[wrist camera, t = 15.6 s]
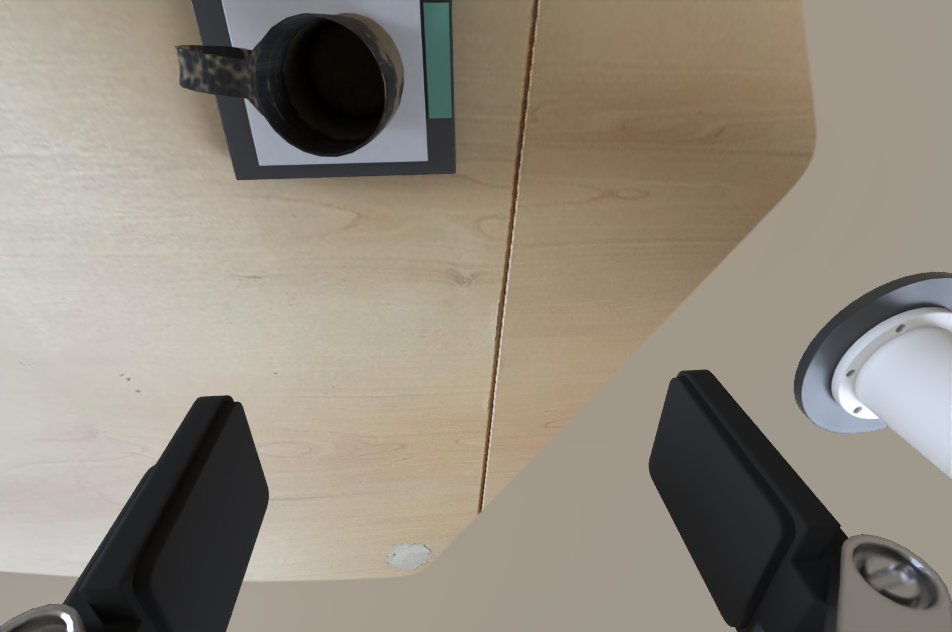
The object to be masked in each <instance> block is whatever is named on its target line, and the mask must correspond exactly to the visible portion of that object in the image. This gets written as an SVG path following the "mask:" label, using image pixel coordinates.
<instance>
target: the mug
mask: <svg viewBox="0 0 952 632" xmlns="http://www.w3.org/2000/svg"><path fill="white" fill-rule="evenodd" d="M175 48H176V52H177V56H178V60H179V64H180V85H181V86H182V87H183V88H186V89H190V90H193V91H197V92H203V93H208V94H214V95H221V96H227V97H235V98H244V99H248V100H249V102H250V103H251V104H252V105H253V106H254V107H255V108H256V109H257V110H258V112H259V113H260V114H261V115H262V116H264V117H265V119H266V120H267V121H268V123H269V124H270V126H271V127H272V128H273V130H274V131H275V132H276V133H277V134H278V135H279V136H281V137H282V138H283V139H284V140H285V141H286V142H287V143H288V144H290V145H292V146H294V147H296V148H297V149H299V150H301V151H303V152H305V153H309V154H312V155H316V156H320V157H340V156H343V155H347V154H351V153H354V152H355V151H357V150H359V149H360V148H362V147H364V146H366V145H367V144H368V143H370V142H371V141H372V140H373V139H375V138H376V137H377V136H378V135H379V134H380V133H381V132H382V131H383V130H384V129H385V128H386V126H387V125H388V124H389V122H390V121H391V119H392V118H393V117H394V115H395V113H396V111H397V109H398V107H399V105H400V102H401V97H402V93H403V88H404V67H403V64H402V60H401V56H400V53H399V51H398V49H397V47H396V45H395V43H394V42H393V40H392V38H391V36H390V35H389V34H388V33H387V32H386V31H385V30H384V29H383V27H382V26H380V25H379V24H377V23H376V22H375V21H373V20H372V19H370V18H368V17H365V16H362V15H359V14H357V13H340V14H335V15H333V14H316V13H301V14H298V15H294V16H290V17H286V18H285V19H283V20H282V21H280V22H279V23H277V24H276V25H274V26H273V27H271V28H270V29H269V31H268V32H267V33H266V35H265V36H264V37H263V38H262V40H261V41H260V42H259V43H258V44H257V45H256V46H255V47H254V49H253V50H249V49H244V48H237V47H229V46H202V45H182V46H175Z"/></svg>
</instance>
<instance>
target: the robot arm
mask: <svg viewBox="0 0 952 632" xmlns="http://www.w3.org/2000/svg"><path fill="white" fill-rule="evenodd" d="M831 390H832V395H833V398H834V400H835V401H836V403H837V404H838V405H839V406H840V407H841V408H842V409H843V410H844V411H845V412H847V413H848V414H850V415H852V416H855V417H858V418H863V419H878V418H880V419H881V420H882V421H883V422H884V423H886V424H887V425H888V426H889V427H890V428H892V429H893V430H894V431H895V432H896V433H898V434H899V435H900V436H901V437H902V438H903V439H905V440H906V441H907V442H908V443H909V444H911V445H912V446H913V447H914V448H915V449H917V450H918V451H919V452H920V453H921V454H923V455H924V456H925V457H926V458H927V459H928V460H930V461H931V462H932V463H933V464H934V465H936V466H937V467H938V468H939V469H940V470H942V471H943V472H944V473H945V474H947V475H948V476H949V477H950V478H951V479H952V311H950V310H948V309H945V308H939V307H923V308H918V309H913V310H909V311H906V312H903V313H900V314H898V315H895V316H893V317H891V318H889V319H887V320H885V321H883V322H881V323H880V324H878V325H876V326H875V327H873V328H872V329H870V330H869V331H868V332H866V333H865V334H864V335H863V336H862V337H860V338H859V339H858V340H857V341H856V342H855V343H854V344H853V345H852V346H851V347H850V348H849V349H848V350H847V352H846V353H845V355H844V356H843V357H842V359H841V360H840V362H839V364H838V366H837V368H836V369H835V372H834V375H833V379H832V386H831ZM649 472H650V475H651V478H652V480H653V482H654V484H655V486H656V488H657V490H658V492H659V494H660V496H661V498H662V500H663V502H664V504H665V506H666V508H667V509H668V512H669V513H670V515H671V517H672V519H673V521H674V523H675V525H676V527H677V529H678V531H679V533H680V535H681V537H682V539H683V541H684V543H685V545H686V546H687V549H688V551H689V552H690V554H691V556H692V558H693V560H694V562H695V564H696V566H697V568H698V570H699V572H700V574H701V576H702V578H703V580H704V582H705V584H706V586H707V588H708V590H709V592H710V593H711V596H712V598H713V599H714V601H715V603H716V605H717V607H718V609H719V611H720V613H721V615H722V617H723V619H724V620H725V622H726V623H727V624H728V625H729V626H731V627H735V628H736V630H737V632H952V601H951V597H950V594H949V592H948V589H947V586H946V585H945V583H944V582H943V581H942V579H941V578H940V576H939V575H938V574H937V572H936V571H934V570H933V569H932V568H931V567H930V566H929V565H928V564H927V563H926V562H925V561H924V560H923V559H921V558H920V557H918V556H917V555H916V554H914V553H913V552H911V551H910V550H909V549H907V548H905V547H903V546H901V545H899V544H897V543H895V542H893V541H890V540H888V539H885V538H882V537H878V536H872V535H864V534H861V535H856V536H852V537H850V538H848V537H847V536H846V534H845V533H844V532H843V531H842V530H841V529H840V526H841V525H840V524H839V523H838V522H837V520H836V519H835V518H834V517H833V516H832V514H831V513H830V512H829V511H828V510H827V509H826V507H825V506H824V505H823V504H822V503H821V501H820V500H819V499H818V498H817V497H816V496H815V495H814V493H813V492H812V491H811V490H810V488H809V487H808V486H807V485H806V484H805V483H804V481H803V480H802V479H801V478H800V477H799V476H798V474H797V473H796V472H795V471H794V470H793V468H792V467H791V466H790V465H789V464H788V462H787V461H786V460H785V459H784V458H783V457H782V456H781V454H780V453H779V452H778V451H777V450H776V448H775V447H774V446H773V445H772V444H771V442H770V441H769V440H768V439H767V438H766V436H765V435H764V434H763V433H762V432H761V431H760V429H759V428H758V427H757V426H756V425H755V424H754V423H753V421H752V420H751V419H750V418H749V416H748V415H747V414H746V413H745V412H744V410H742V408H741V407H740V406H739V405H738V403H737V402H736V401H735V400H734V399H733V397H732V396H731V395H730V394H729V393H728V392H727V390H726V389H725V388H724V387H723V386H722V384H721V383H720V382H719V381H718V380H717V379H716V377H715V376H714V375H713V374H712V373H711V372H710V371H708V370H689V371H681V372H679V374H678V375H677V377H676V378H672V380H671V381H670V384H669V388H668V391H667V395H666V399H665V403H664V406H663V410H662V414H661V418H660V422H659V425H658V429H657V433H656V437H655V441H654V444H653V448H652V452H651V456H650V460H649ZM268 500H269V490H268V486H267V483H266V479H265V476H264V473H263V470H262V467H261V463H260V460H259V457H258V454H257V451H256V447H255V444H254V441H253V438H252V435H251V431H250V428H249V425H248V422H247V419H246V415H245V412H244V409H243V406H242V404H241V403H240V402H234V401H233V398H232V397H231V396H228V395H225V396H206V397H199V398H197V400H196V401H195V402H194V404H193V405H192V407H191V409H190V410H189V412H188V413H187V415H186V417H185V418H184V420H183V421H182V423H181V425H180V426H179V428H178V429H177V431H176V433H175V434H174V436H173V438H172V439H171V441H170V442H169V444H168V446H167V447H166V449H165V450H164V452H163V454H162V455H161V457H160V458H159V460H158V462H157V463H156V465H154V466H152V467H151V468H149V470H148V471H147V472H146V473H145V475H144V476H143V478H142V479H141V481H140V482H139V484H138V486H137V487H136V489H135V490H134V492H133V493H132V495H131V497H130V498H129V500H128V501H127V503H126V505H125V506H124V508H123V509H122V511H121V512H120V514H119V516H118V517H117V519H116V520H115V522H114V524H113V525H112V527H111V528H110V530H109V531H108V533H107V535H106V536H105V538H104V539H103V541H102V543H101V544H100V546H99V547H98V549H97V550H96V552H95V554H94V555H93V557H92V558H91V560H90V562H89V563H88V565H87V566H86V568H85V569H84V571H83V573H82V574H81V576H80V577H79V579H78V581H77V582H76V584H75V585H74V587H73V588H72V590H71V592H70V593H69V595H68V596H67V598H66V600H65V601H64V603H63V604H48V605H45V606H41V607H38V608H33V609H31V610H28V611H26V612H24V613H22V614H20V615H18V616H16V617H14V618H12V619H10V620H9V621H7V622H6V623H4V624H3V625H2V626H0V632H226V630H227V627H228V624H229V621H230V618H231V615H232V611H233V608H234V605H235V602H236V600H237V596H238V593H239V590H240V587H241V584H242V581H243V578H244V575H245V572H246V569H247V566H248V563H249V560H250V557H251V554H252V551H253V548H254V545H255V542H256V539H257V536H258V533H259V530H260V527H261V524H262V521H263V518H264V515H265V512H266V509H267V505H268Z"/></svg>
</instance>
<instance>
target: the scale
mask: <svg viewBox="0 0 952 632" xmlns="http://www.w3.org/2000/svg"><path fill="white" fill-rule="evenodd" d="M191 4H192V8H193V12H194V16H195V20H196V24H197V27H198V31H199V35H200V39H201V43H202V46H229V47H237V48H244V49H249V50H253V49H254V47H255V46H256V45H257V44H258V43H259V42H260V41H261V40H262V38H263V37H264V36H265V35H266V33H267V32H268V31H269V29H270V28H271V27H273V26H274V25H276V24H277V23H279V22H280V21H282V20H283V19H285V18H286V17H290V16H294V15H298V14H301V13H316V14H333V15H335V14H340V13H357V14H359V15H362V16H365V17H368V18H370V19H372V20H373V21H375V22H376V23H377V24H379V25H380V26H382V27H383V29H384V30H385V31H386V32H387V33H388V34H389V35H390V36H391V38H392V40H393V42H394V43H395V45H396V47H397V49H398V51H399V53H400V56H401V60H402V64H403V67H404V88H403V93H402V97H401V102H400V105H399V107H398V109H397V111H396V113H395V115H394V117H393V118H392V119H391V121H390V122H389V124H388V125H387V126H386V128H385V129H384V130H383V131H382V132H381V133H380V134H379V135H378V136H377V137H376V138H375V139H373V140H372V141H371V142H370V143H368V144H367V145H366V146H364V147H362V148H360V149H359V150H357V151H355V152H354V153H351V154H347V155H343V156H340V157H320V156H316V155H312V154H309V153H305V152H303V151H301V150H299V149H297V148H296V147H294V146H292V145H290V144H288V143H287V142H286V141H285V140H284V139H283V138H282V137H281V136H279V135H278V134H277V133H276V132H275V131H274V130H273V128H272V127H271V126H270V124H269V123H268V121H267V120H266V119H265V117H264V116H262V115H261V114H260V113H259V112H258V110H257V109H256V108H255V107H254V106H253V105H252V104H251V103H250V102H249V100H248V99H244V98H235V97H227V96H221V95H215V98H216V102H217V106H218V109H219V113H220V117H221V121H222V125H223V129H224V133H225V137H226V141H227V145H228V148H229V152H230V156H231V160H232V164H233V168H234V172H235V176H236V179H237V180H257V179H290V178H323V177H357V176H390V175H423V174H454V173H456V162H455V120H454V78H453V36H452V0H191Z"/></svg>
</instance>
